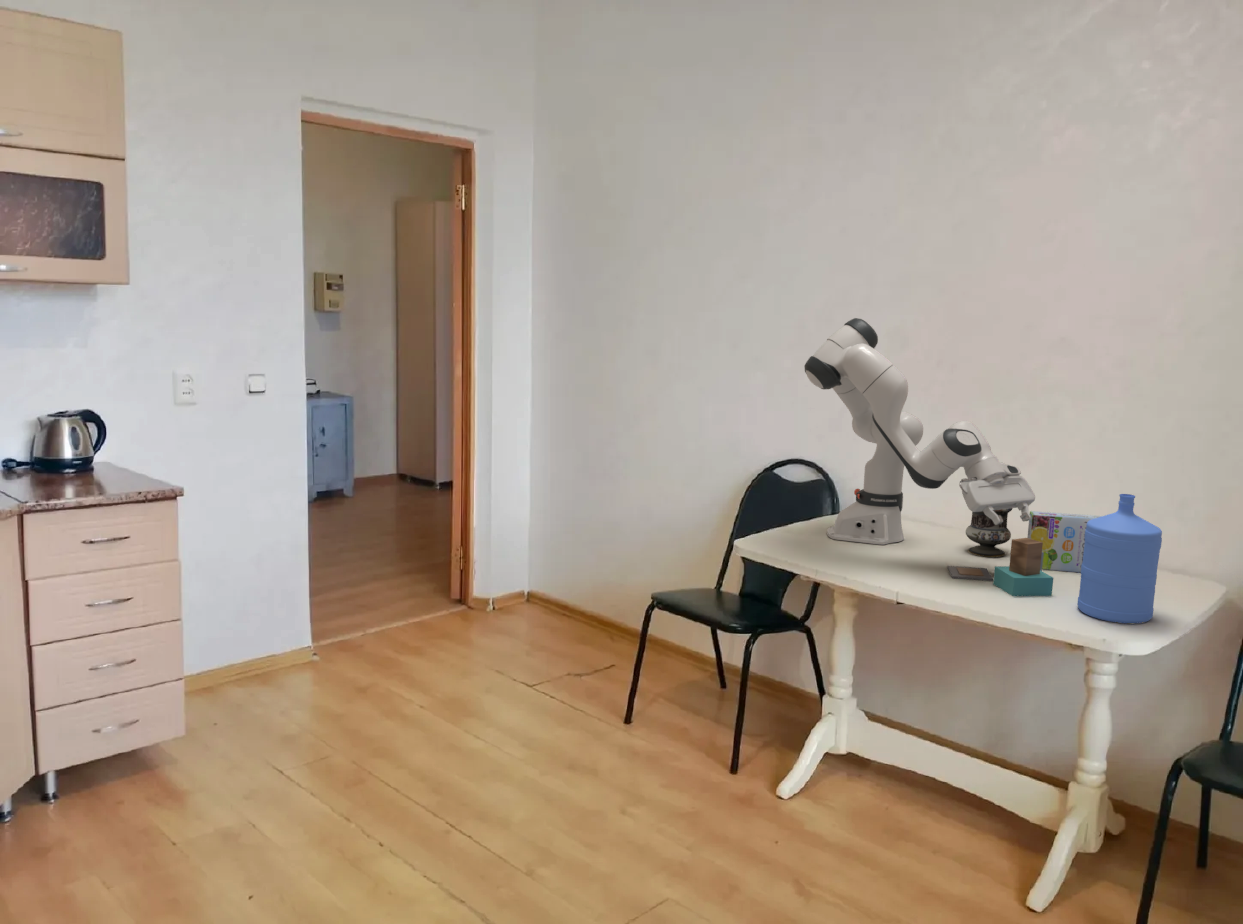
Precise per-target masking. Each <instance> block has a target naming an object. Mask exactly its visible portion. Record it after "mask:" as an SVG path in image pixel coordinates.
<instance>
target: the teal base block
mask: <svg viewBox="0 0 1243 924" xmlns="http://www.w3.org/2000/svg"><path fill="white" fill-rule="evenodd" d="M993 571H994V573H993V581H992V582H993V583H992V584H993V585H994V586H995V587H997V588H999V589H1000V590H1002V591H1004V592H1005V593H1006V592H1007V593H1006V594H1008V595H1010V596H1011V597H1052V595H1053V587H1054V586H1053V585H1054V577H1053V576H1052V575H1050V574H1048V573H1046V572H1044V571H1043V570H1042V571H1041V570H1040V574H1036V575H1029V576H1023V575H1020V574H1017V573H1014V572H1012V571H1009V565H1007V566H1006V565H1005V566H1004V565H1003V566H1002V565H1001V566H997V565H996V566H994V570H993Z"/></svg>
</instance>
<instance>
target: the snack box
mask: <svg viewBox="0 0 1243 924" xmlns="http://www.w3.org/2000/svg"><path fill="white" fill-rule="evenodd" d="M1029 514H1030V516H1031V519H1030V520H1029V521H1028V528H1027V537H1026V538H1029V539H1033V540H1036V541H1039V542H1043V545H1042V552H1044V555H1043V565H1042V570H1046V571H1047V570H1048V571H1049V570H1050V571H1056V572H1057V571H1059V572H1060V571H1061V572H1070V573H1081V565H1082V562H1083V553H1084V544H1085V539H1084V538H1085V529H1086V525H1087V522H1088V521H1089V520H1092V519H1095V518H1098V517H1102V516H1103V515H1093V514H1080V513H1079V514H1078V513H1062V512H1050V511H1049V512H1048V511H1047V512H1046V511H1032V510H1031V511H1029Z"/></svg>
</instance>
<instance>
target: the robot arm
mask: <svg viewBox="0 0 1243 924" xmlns="http://www.w3.org/2000/svg"><path fill="white" fill-rule="evenodd" d="M878 341H879V337H878V334H877V332H876V331H875V328H873V326H872V325H871V324H870V323H869V322H868V321H865V320H864V319H862V318H856V317H854V318H852V319H850V320H848V321H847V322H845V323H844V325H843V326H842V327H840V328H839V329H838V330H836V331H835V332H834V333H832V334H831V335H830V336H829V337H828V338H827V339H826V341H825V342H823V344H822V345H821V346H819V348H818V349H817V350H816V351H815V352H814V353H813V355H811V356H809V358H808V359H807V361H806V362H805V364H804V373H805V375H806V376H807V378H808V380H809V382H811V384H813V385H814V386H815V387H818V388H820V389H821V390H831V389H832V390H833V391H834V392H835V394H836V395H837V396H838V398H839V399H840V400H841V401H842V402H843V404H844V406H845V407H846V408H847V409H848V411H849V413H850V415H851V418H852V420H851V427H852V431H853V432H854V433H855V435H856V436H857V437H859V438H861V439H863V440H864V441H866V442H868V443H872V444H876V448H875V450H874V454H873V455H872V458H870V459H869V460H868V461H866V463H865V465H864V473H863V474H864V476H863V488H862V489H860V488H855V490H854V495H855V502H853V503H852V504H850V505H849V506H846V507H845V508H844V509H842V510H841V511H840V512H838V514H837V516H836V519H835V523H834V525H833V526H830V527H828V528H827V531H826V535H827V537H829V538H830V539H832V540H837V541H845V542H856V543H862V544H863V543H864V544H872V545H873V544H874V545H880V546H881V545H887V544H892V543H898V542H902V541H904V540H905V537H904V532H903V524H902V511H903V506H904V493H903V478H904V470H905V469H906V471H907V473H908V474H909V476H910V478H911V480H912V481H913V482H914V483H915V484H916V486H919V487H920V488H925V489H929V490H930V489H932V490H933V489H939V488H940V487H941V486H942V485H943V484H944V483H945V482H947V480H948V478H949V477H951V476H952V475H953V474H954V473H956V471H958V470H959V469H960V468H963V470H964V474H965V476H966V478H961V480H960V481H959V484H958V485H959V488H960V490H961V493H962V494H961V495H962V496H963V499H964V501H965V504H966V506H967V508H968V510H970V512H971V513H972V512H982V511H983V512H984V514H985V515H986V516H988V517H989V518H990V519H991V520H992V521H993V522H994V524H995V525H998V524H1001V523H1002V522H1003V519H1002V517H1001V515H997V514H996V513H995V512H994V511H993V510H1000V509H1009V508H1013V509H1015V508H1017V509H1018V511H1020V512H1021V515H1019V517H1020V519H1021V521H1022V522H1029V520H1030V519H1031V516H1030V512H1029V506H1031V505H1032V504H1033V503H1034V502H1035V500H1036V495H1035V492H1034V490H1033V489H1032V487H1031V486H1030V483H1028V481H1027V480H1026V478H1025V477H1023V476H1022V475H1021V474H1022V470H1021V469H1020V468H1019V467H1018V466H1015V465H1014V466H1013V465H1010V464H1006V463H1005V462H1001V461H999V459H998V457H997V456H996V455H995V454H993V451H992V448H991V445H990V444H989V442H988V441H987V439H986V437H985V435H983V433H982V431H981V430H980V429H979V428H978V427H977V426H976V425H975V424H974V423H973V421H972V422H971V421H968V420H962V421H957V422H955V423H953V424H952V425H950V426H949V427H948V428H946V429H944V430H943V431H942V432H941V433H940V434H938V435H937V436H935V438H934V439H932V441H931V442H930V443H929V444H928V445H927V446H926V447H925V448H923V449H922V450H919V449H918V448H917V445H919V444H920V442H921V440H922V439H923V435H924V426H923V425H924V424H923V423H922V421H921V419H919V418H918V417H916V416H915V415H913V414H912V413H910V412H907V411H903V409H904V406H905V403H906V402H907V399H908V393H909V384H908V379H907V378H906V377H905V375H904V374H903V372H902V371H901V370H900V369H898V367H896V365H894V363H893V362H892V361H890V360H889V359H888V358H887V357H886V356H885V355H883V354H882V353H881V352H879V351H878V350H877V349H876V347H877V345H878V343H879V342H878Z"/></svg>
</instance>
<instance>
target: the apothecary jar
mask: <svg viewBox="0 0 1243 924" xmlns="http://www.w3.org/2000/svg"><path fill="white" fill-rule="evenodd" d="M1013 509H1014V508H1009V509H1000V510H993V511H994V512H995V513H996V514H997V515H1001V517H1002V519H1003V522H1002V523H1001V524H998V525H995V524H994V522H993V521H992V520H991V519H990V518H989V517H988V516H986V515H985V514H984V512H983V511H982V512H972V511H971V521H970V525H968V526H967V527H966V529H965V535H966V537H967V538H968V539H969V540H970V541H972V542H974V543H976V544H977V545H975V546H971V547H969V548H968V550H967V551H968V553H970V554H972V555H975V556H978V557H985V558H986V557H987V558H1001V557H1005V555H1006V552H1005V551H1003V549H1000V548H998V547H996V546H998V545H1003V544H1005V543H1007V542H1009V541H1010V540H1011V537H1012V533H1011V530H1010V529H1009V528H1008V517H1009V513H1010V512H1012V510H1013Z"/></svg>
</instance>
